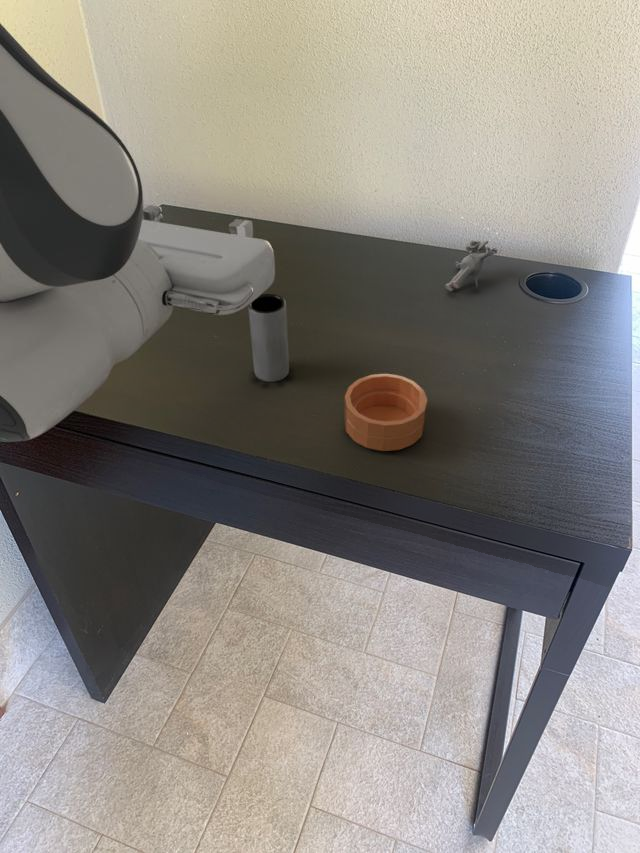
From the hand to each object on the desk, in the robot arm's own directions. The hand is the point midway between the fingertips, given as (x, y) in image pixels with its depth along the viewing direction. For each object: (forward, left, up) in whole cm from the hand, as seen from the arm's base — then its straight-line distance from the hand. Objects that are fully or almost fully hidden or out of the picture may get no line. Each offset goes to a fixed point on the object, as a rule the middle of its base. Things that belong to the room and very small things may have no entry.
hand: (199, 219), depth 63 cm
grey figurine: (+48, -5, -26) cm, 55 cm away
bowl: (+12, -14, -26) cm, 32 cm away
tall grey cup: (+12, +4, -26) cm, 29 cm away
